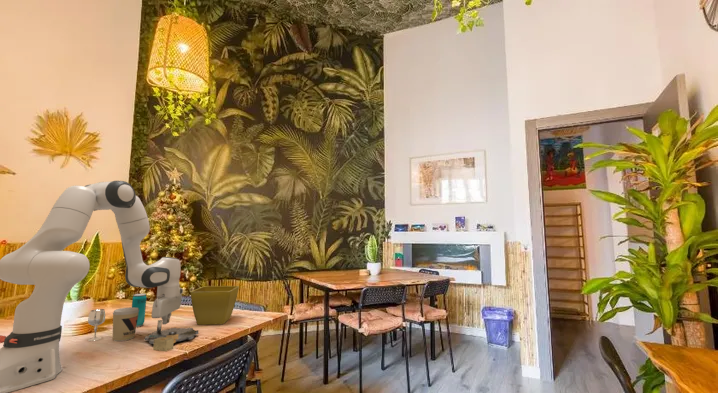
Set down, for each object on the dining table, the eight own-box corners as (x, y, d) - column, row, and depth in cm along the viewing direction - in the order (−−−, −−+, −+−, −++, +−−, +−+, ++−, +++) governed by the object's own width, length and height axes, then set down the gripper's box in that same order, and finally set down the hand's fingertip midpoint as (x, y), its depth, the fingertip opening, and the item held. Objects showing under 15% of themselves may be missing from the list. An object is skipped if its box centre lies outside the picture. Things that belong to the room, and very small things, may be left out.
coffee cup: (123, 342, 136) (125, 312, 137) (104, 340, 137) (107, 311, 139) (142, 335, 145) (144, 307, 146) (124, 334, 147) (126, 306, 148)
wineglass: (104, 339, 139) (107, 310, 141) (87, 342, 135) (90, 312, 137) (101, 336, 143) (104, 308, 145) (84, 339, 139) (87, 310, 140)
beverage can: (146, 325, 161) (149, 294, 162) (133, 328, 156) (136, 296, 158) (140, 323, 164) (143, 293, 165) (127, 326, 159) (130, 294, 161)
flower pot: (201, 317, 178) (203, 285, 180) (237, 316, 180) (239, 285, 182) (187, 327, 159) (189, 291, 161) (227, 326, 161) (229, 291, 163)
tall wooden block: (165, 351, 126) (166, 340, 127) (153, 350, 128) (154, 339, 128) (172, 348, 129) (173, 338, 130) (160, 347, 131) (161, 336, 131)
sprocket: (171, 346, 129) (172, 330, 129) (132, 341, 134) (134, 325, 135) (208, 332, 148) (209, 318, 148) (173, 328, 154) (174, 314, 154)
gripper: (164, 296, 141) (161, 330, 139) (184, 288, 161) (182, 318, 160) (148, 296, 141) (145, 330, 139) (171, 289, 161) (169, 318, 159)
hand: (165, 323), depth 149 cm, fingers closed
